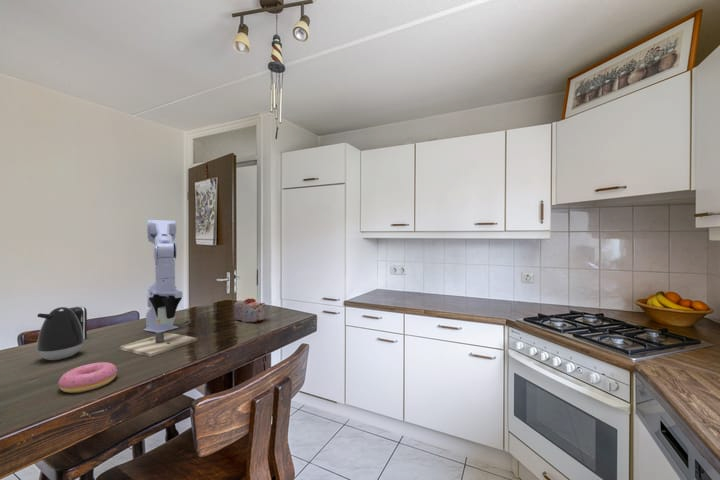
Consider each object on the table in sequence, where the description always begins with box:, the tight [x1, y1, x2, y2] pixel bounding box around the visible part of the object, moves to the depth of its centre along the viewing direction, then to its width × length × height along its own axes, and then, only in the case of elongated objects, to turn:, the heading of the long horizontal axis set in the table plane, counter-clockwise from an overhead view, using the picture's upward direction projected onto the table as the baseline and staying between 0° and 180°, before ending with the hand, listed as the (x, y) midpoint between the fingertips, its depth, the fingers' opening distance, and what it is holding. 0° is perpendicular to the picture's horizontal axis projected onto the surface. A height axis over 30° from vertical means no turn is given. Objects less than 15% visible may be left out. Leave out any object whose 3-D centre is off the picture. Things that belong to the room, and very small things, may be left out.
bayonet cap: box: [156, 306, 177, 324], centre depth 105 cm, size 5×6×5 cm
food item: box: [233, 297, 266, 323], centre depth 134 cm, size 14×8×10 cm, turn 67°
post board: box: [118, 331, 198, 358], centre depth 103 cm, size 16×16×4 cm
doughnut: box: [57, 361, 118, 394], centre depth 75 cm, size 11×11×4 cm
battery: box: [69, 306, 88, 340], centre depth 109 cm, size 7×4×11 cm, turn 61°
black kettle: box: [36, 306, 85, 361], centre depth 92 cm, size 10×10×15 cm
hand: (165, 317), depth 104 cm, fingers closed on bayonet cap, 5 cm apart
